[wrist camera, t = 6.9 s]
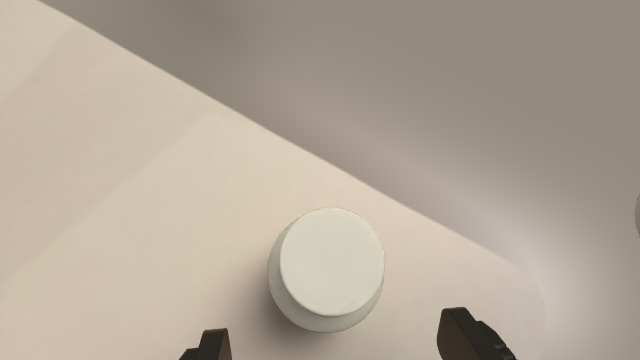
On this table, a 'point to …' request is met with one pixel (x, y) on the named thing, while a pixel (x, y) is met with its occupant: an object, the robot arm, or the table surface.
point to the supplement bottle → (326, 270)
